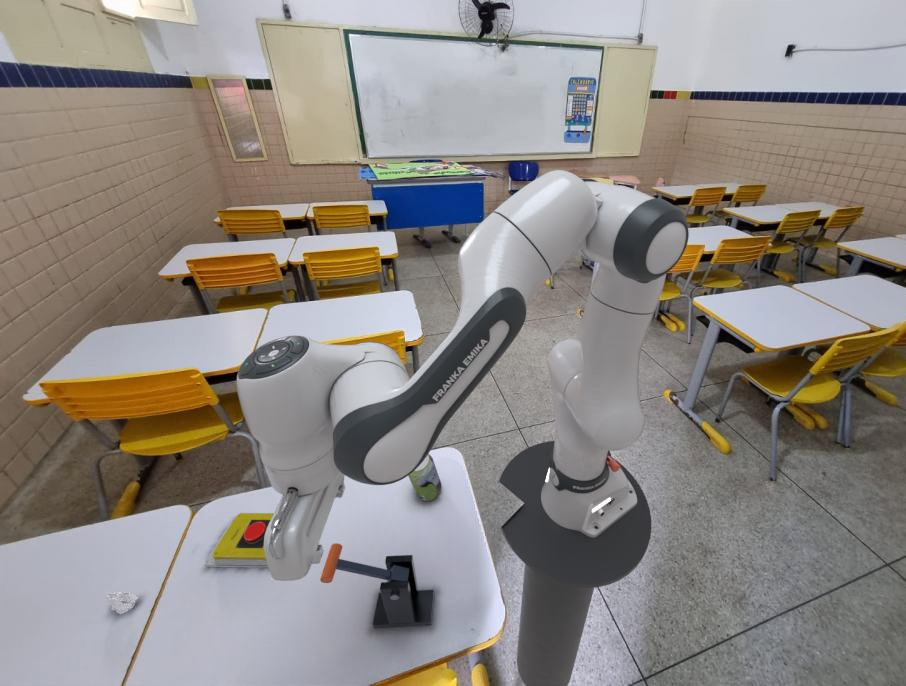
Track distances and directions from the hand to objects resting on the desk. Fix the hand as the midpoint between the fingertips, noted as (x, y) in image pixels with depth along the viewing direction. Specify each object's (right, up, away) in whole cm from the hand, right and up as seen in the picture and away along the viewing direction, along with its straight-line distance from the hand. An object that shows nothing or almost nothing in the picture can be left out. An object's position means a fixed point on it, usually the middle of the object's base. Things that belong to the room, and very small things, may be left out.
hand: (327, 523), depth 54 cm
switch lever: (+3, -13, +8) cm, 15 cm away
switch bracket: (+8, -23, +14) cm, 28 cm away
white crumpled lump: (-42, -23, +13) cm, 50 cm away
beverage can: (+7, -12, +34) cm, 37 cm away
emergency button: (-26, -18, +24) cm, 39 cm away
